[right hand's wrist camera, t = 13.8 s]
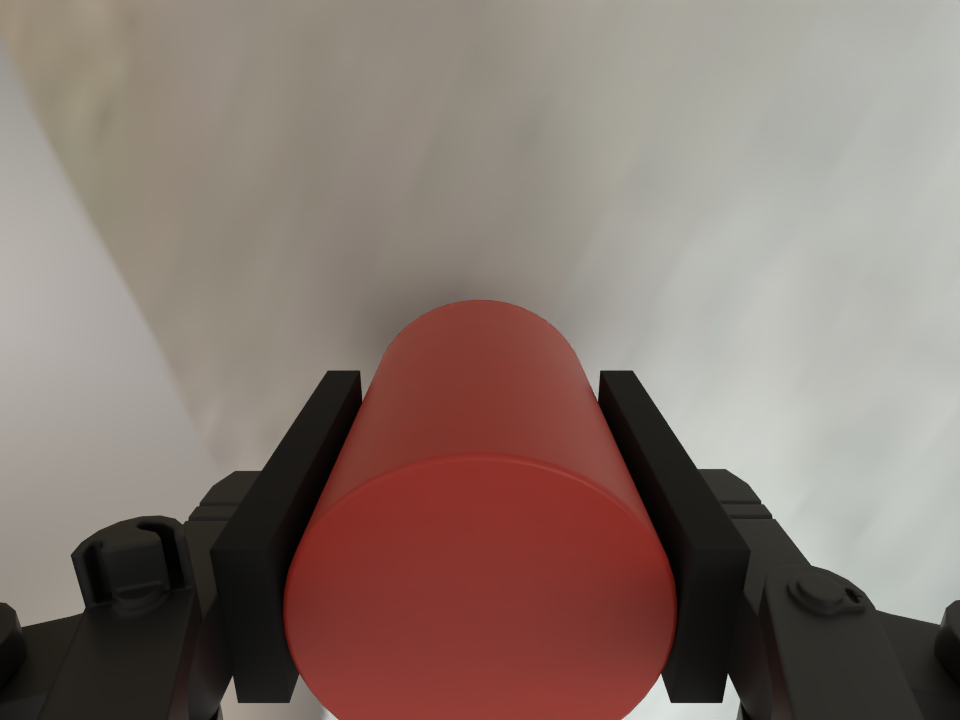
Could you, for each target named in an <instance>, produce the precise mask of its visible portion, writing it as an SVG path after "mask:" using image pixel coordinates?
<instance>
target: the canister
mask: <svg viewBox="0 0 960 720" xmlns="http://www.w3.org/2000/svg"><path fill="white" fill-rule="evenodd" d="M282 611H283V621H284V630H285V636H286V640H287V643H288V647H289V651H290V654H291V656H292V659H293V661H294V663H295V665H296V667H297V670H298V672H299V674H300V675H301V677H302V678H303V680H304V681H305V683H306V685H307V686H308V688H309V689H310V691H311V692H312V693H313V694H314V695H315V696H316V698H317V699H318V700H319V701H320V702H321V703H322V705H323V706H324V707H325V708H326V709H328V710H329V711H330V712H331V713H332V714H333V715H334V716H335V717H336V718H337V719H338V720H621V719H623V718H624V717H625V716H626V715H628V714H629V713H630V712H631V711H632V710H633V709H634V708H635V707H636V706H637V705H638V704H639V703H640V702H641V701H642V700H643V699H644V697H645V696H646V695H647V693H648V692H649V691H650V689H651V688H652V687H653V685H654V684H655V683H656V681H657V679H658V678H659V676H660V674H661V672H662V670H663V668H664V666H665V665H666V663H667V660H668V657H669V654H670V651H671V649H672V646H673V642H674V637H675V631H676V626H677V615H678V598H677V591H676V584H675V578H674V575H673V572H672V569H671V566H670V563H669V560H668V557H667V555H666V553H665V551H664V548H663V546H662V544H661V542H660V539H659V537H658V535H657V533H656V531H655V528H654V526H653V524H652V522H651V519H650V517H649V515H648V513H647V511H646V508H645V506H644V504H643V502H642V499H641V497H640V495H639V493H638V490H637V488H636V486H635V484H634V482H633V479H632V477H631V475H630V473H629V470H628V468H627V466H626V464H625V462H624V459H623V457H622V455H621V453H620V450H619V448H618V446H617V444H616V441H615V439H614V437H613V435H612V433H611V430H610V428H609V426H608V424H607V421H606V419H605V417H604V415H603V413H602V410H601V408H600V406H599V404H598V401H597V399H596V397H595V395H594V392H593V390H592V388H591V386H590V384H589V381H588V379H587V377H586V375H585V372H584V370H583V368H582V366H581V364H580V361H579V359H578V358H577V356H576V354H575V352H574V350H573V348H572V347H571V346H570V344H569V343H568V341H567V340H566V339H565V338H564V337H563V336H562V334H561V333H560V332H559V331H558V330H557V329H556V328H554V327H553V326H552V325H551V324H550V323H548V322H547V321H546V320H544V319H543V318H541V317H539V316H538V315H536V314H534V313H533V312H530V311H528V310H526V309H524V308H521V307H519V306H515V305H512V304H508V303H504V302H498V301H492V300H471V301H461V302H457V303H452V304H448V305H445V306H442V307H439V308H437V309H434V310H432V311H430V312H428V313H426V314H424V315H422V316H420V317H419V318H418V319H416V320H415V321H413V322H412V323H411V324H409V325H408V326H407V327H406V328H405V329H404V330H403V331H402V332H401V333H399V334H398V336H397V337H396V338H395V339H394V341H393V342H392V343H391V344H390V346H389V347H388V349H387V351H386V352H385V354H384V356H383V358H382V360H381V362H380V364H379V367H378V369H377V371H376V373H375V375H374V378H373V380H372V382H371V384H370V387H369V389H368V391H367V393H366V396H365V398H364V400H363V402H362V404H361V407H360V409H359V411H358V413H357V416H356V418H355V420H354V422H353V425H352V427H351V429H350V431H349V434H348V436H347V438H346V440H345V442H344V445H343V447H342V449H341V451H340V454H339V456H338V458H337V460H336V463H335V465H334V467H333V469H332V472H331V474H330V476H329V478H328V480H327V483H326V485H325V487H324V489H323V492H322V494H321V496H320V498H319V501H318V503H317V505H316V507H315V509H314V512H313V514H312V516H311V518H310V521H309V523H308V525H307V527H306V530H305V532H304V534H303V536H302V539H301V541H300V543H299V545H298V547H297V550H296V552H295V555H294V557H293V559H292V562H291V564H290V567H289V569H288V573H287V577H286V582H285V586H284V592H283V608H282Z"/></svg>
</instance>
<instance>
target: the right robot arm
mask: <svg viewBox="0 0 960 720" xmlns="http://www.w3.org/2000/svg"><path fill="white" fill-rule="evenodd" d="M361 404H362V391H361V377H360V371H327V373H326V374H325V376H324V377H323V379H322V380H321V382H320V383H319V385H318V386H317V388H316V389H315V391H314V392H313V394H312V395H311V397H310V398H309V400H308V401H307V403H306V404H305V406H304V408H303V409H302V411H301V412H300V414H299V415H298V417H297V418H296V420H295V421H294V423H293V424H292V426H291V427H290V429H289V430H288V432H287V433H286V435H285V436H284V438H283V439H282V441H281V442H280V444H279V445H278V447H277V449H276V450H275V452H274V453H273V455H272V456H271V458H270V459H269V461H268V462H267V464H266V465H265V467H264V468H263V470H262V471H235V472H233V473H232V474H230V475H229V476H227V477H225V478H224V479H222V480H221V481H219V482H218V483H216V484H215V485H213V487H212V488H211V489H210V490H209V492H208V493H207V494H206V496H205V497H204V498H203V499H202V501H201V502H200V506H199V507H196V508H195V510H194V511H193V512H192V514H191V515H190V516H189V520H188V521H185V523H184V524H183V525H182V524H181V523H180V522H179V521H177V520H176V519H174V518H169V517H165V516H142V517H137V518H133V519H129V520H125V521H120V522H118V523H115V524H113V525H111V526H109V527H106V528H104V529H101V530H99V531H98V532H96V533H95V534H93V535H92V536H90V537H89V538H87V539H86V540H84V541H83V542H81V544H80V545H79V546H78V547H77V548H76V549H75V551H74V552H73V553H72V554H71V558H72V561H73V565H74V568H75V572H76V575H77V579H78V582H79V586H80V589H81V593H82V596H83V600H84V603H85V607H86V608H85V610H84V612H83V613H81V614H78V615H75V616H71V617H66V618H62V619H57V620H53V621H48V622H44V623H39V624H35V625H30V626H26V627H21V626H20V623H19V620H18V617H17V614H16V611H15V610H14V609H13V608H11V607H10V606H9V605H8V604H6V603H0V720H223V715H222V710H221V705H220V702H221V700H222V698H223V695H224V693H225V691H226V689H227V687H228V685H229V682H230V680H231V678H232V676H233V678H234V683H235V689H236V694H237V699H238V703H289V702H290V699H291V696H292V693H293V691H294V688H295V685H296V682H297V679H298V676H299V672H298V670H297V667H296V665H295V663H294V661H293V659H292V656H291V654H290V651H289V647H288V643H287V640H286V636H285V630H284V621H283V611H282V608H283V592H284V586H285V582H286V577H287V573H288V569H289V567H290V564H291V562H292V559H293V557H294V555H295V552H296V550H297V547H298V545H299V543H300V541H301V539H302V536H303V534H304V532H305V530H306V527H307V525H308V523H309V521H310V518H311V516H312V514H313V512H314V509H315V507H316V505H317V503H318V501H319V498H320V496H321V494H322V492H323V489H324V487H325V485H326V483H327V480H328V478H329V476H330V474H331V472H332V469H333V467H334V465H335V463H336V460H337V458H338V456H339V454H340V451H341V449H342V447H343V445H344V442H345V440H346V438H347V436H348V434H349V431H350V429H351V427H352V425H353V422H354V420H355V418H356V416H357V413H358V411H359V409H360V407H361ZM598 404H599V406H600V408H601V410H602V413H603V415H604V417H605V419H606V421H607V424H608V426H609V428H610V430H611V433H612V435H613V437H614V439H615V441H616V444H617V446H618V448H619V450H620V453H621V455H622V457H623V459H624V462H625V464H626V466H627V468H628V470H629V473H630V475H631V477H632V479H633V482H634V484H635V486H636V488H637V490H638V493H639V495H640V497H641V499H642V502H643V504H644V506H645V508H646V511H647V513H648V515H649V517H650V519H651V522H652V524H653V526H654V528H655V531H656V533H657V535H658V537H659V539H660V542H661V544H662V546H663V548H664V551H665V553H666V555H667V557H668V560H669V563H670V566H671V569H672V572H673V575H674V578H675V584H676V591H677V598H678V615H677V626H676V631H675V637H674V642H673V646H672V649H671V651H670V654H669V657H668V660H667V663H666V665H665V666H664V668H663V670H662V672H661V675H662V678H663V681H664V684H665V687H666V689H667V692H668V695H669V698H670V701H671V703H722V701H723V696H724V691H725V686H726V680H727V675H728V674H729V676H730V678H731V681H732V683H733V685H734V687H735V689H736V691H737V694H738V696H739V698H740V705H739V710H738V715H737V719H736V720H960V600H957V601H954V602H953V603H952V604H951V605H949V606H948V607H947V608H946V610H945V613H944V616H943V619H942V622H941V624H940V625H938V624H933V623H929V622H924V621H920V620H915V619H911V618H906V617H901V616H897V615H892V614H888V613H885V612H881V611H878V610H876V609H875V607H874V605H873V604H872V602H871V601H870V600H869V598H868V597H867V596H866V594H865V593H864V592H863V591H862V590H860V589H859V588H858V587H857V586H855V585H854V584H853V583H851V582H850V581H849V580H847V579H845V578H843V577H841V576H839V575H837V574H835V573H833V572H831V571H829V570H825V569H822V568H818V567H815V566H811V565H810V563H809V562H808V561H807V559H806V558H805V557H804V556H803V554H802V553H801V552H800V550H799V549H798V548H797V547H796V545H795V544H794V543H793V541H792V540H791V539H790V538H789V536H788V535H787V534H786V532H785V531H784V530H783V529H782V527H781V526H780V525H779V523H778V522H777V521H776V520H775V519H773V518H772V514H771V513H770V512H769V511H768V509H767V508H766V507H765V505H764V504H761V500H760V499H759V498H758V496H757V495H756V494H755V492H754V491H753V490H752V489H751V487H750V486H749V485H748V484H747V483H746V482H744V481H743V480H741V479H740V478H738V477H737V476H735V475H734V474H732V473H731V472H729V471H728V470H726V469H697V468H696V466H695V465H694V463H693V462H692V460H691V459H690V457H689V455H688V454H687V452H686V451H685V449H684V448H683V446H682V445H681V443H680V442H679V440H678V439H677V437H676V436H675V434H674V433H673V431H672V430H671V428H670V427H669V425H668V424H667V422H666V421H665V419H664V418H663V416H662V414H661V413H660V411H659V410H658V408H657V407H656V405H655V404H654V402H653V401H652V399H651V398H650V396H649V395H648V393H647V392H646V390H645V389H644V387H643V386H642V384H641V383H640V381H639V380H638V378H637V377H636V375H635V374H634V372H633V371H600V383H599V396H598Z"/></svg>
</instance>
